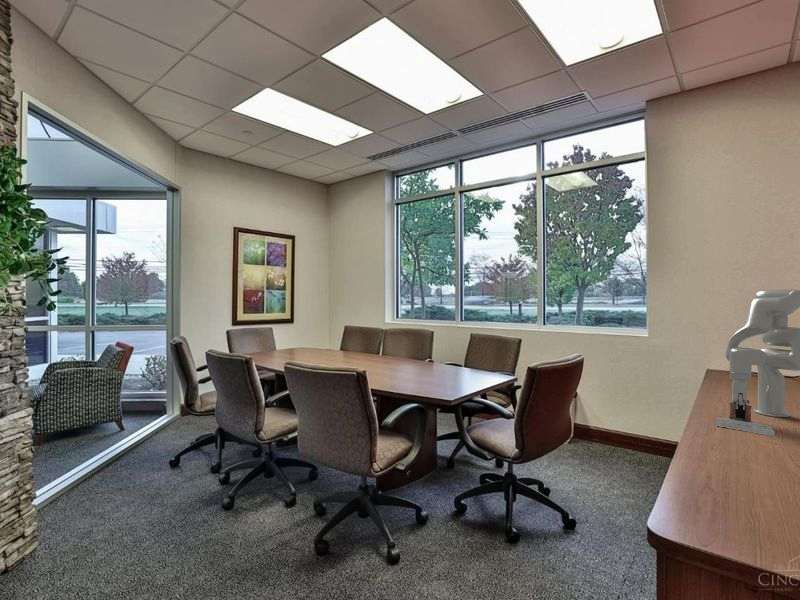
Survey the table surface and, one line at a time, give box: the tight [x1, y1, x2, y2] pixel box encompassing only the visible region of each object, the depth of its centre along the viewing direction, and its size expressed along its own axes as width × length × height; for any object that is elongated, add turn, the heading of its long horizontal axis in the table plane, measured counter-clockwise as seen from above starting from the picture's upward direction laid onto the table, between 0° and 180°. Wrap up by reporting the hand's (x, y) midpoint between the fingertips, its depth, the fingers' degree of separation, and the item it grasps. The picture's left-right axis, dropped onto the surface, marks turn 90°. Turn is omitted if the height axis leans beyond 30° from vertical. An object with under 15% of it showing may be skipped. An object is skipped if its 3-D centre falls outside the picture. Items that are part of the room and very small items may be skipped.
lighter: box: [728, 399, 752, 422], centre depth 178 cm, size 8×3×10 cm, turn 25°
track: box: [716, 416, 776, 437], centre depth 168 cm, size 12×18×2 cm, turn 51°
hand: (740, 416), depth 178 cm, fingers closed on lighter, 4 cm apart
